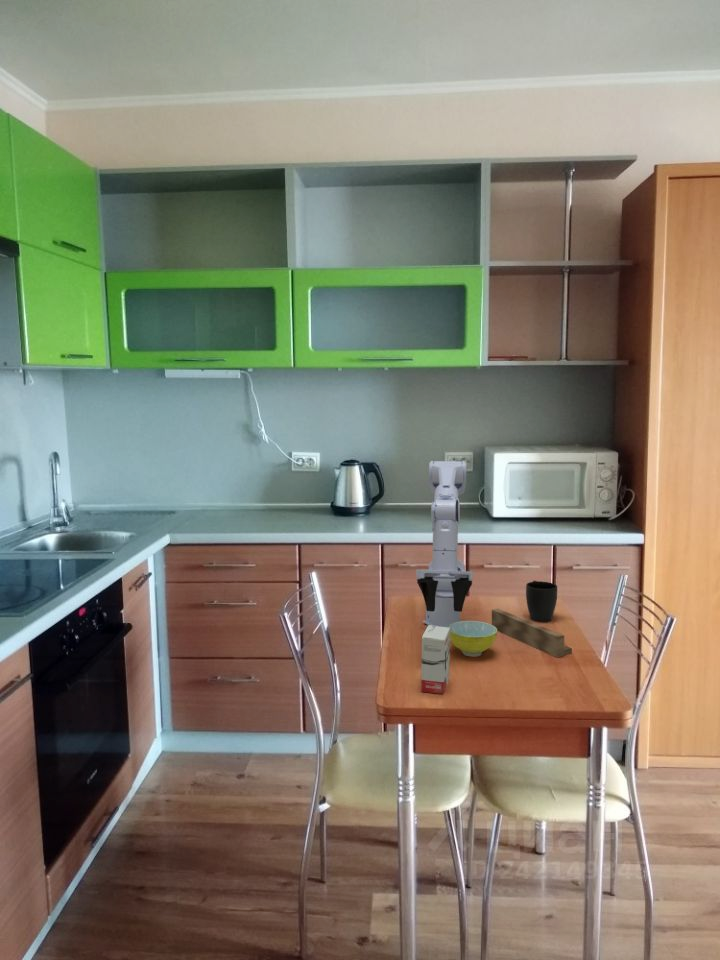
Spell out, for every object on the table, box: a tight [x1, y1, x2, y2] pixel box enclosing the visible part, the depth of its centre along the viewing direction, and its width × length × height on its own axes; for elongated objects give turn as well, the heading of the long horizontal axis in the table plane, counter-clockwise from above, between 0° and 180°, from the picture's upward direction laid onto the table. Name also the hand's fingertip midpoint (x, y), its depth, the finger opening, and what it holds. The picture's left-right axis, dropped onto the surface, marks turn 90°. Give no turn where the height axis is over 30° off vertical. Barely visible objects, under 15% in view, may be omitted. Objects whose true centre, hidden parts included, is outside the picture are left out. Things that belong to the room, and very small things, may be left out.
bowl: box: [448, 620, 498, 658], centre depth 165 cm, size 11×12×6 cm
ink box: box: [420, 625, 451, 695], centre depth 146 cm, size 8×5×12 cm, turn 165°
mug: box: [525, 580, 558, 623], centre depth 191 cm, size 8×12×10 cm
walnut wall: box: [491, 608, 573, 659], centre depth 173 cm, size 24×5×5 cm, turn 28°
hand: (444, 611), depth 158 cm, fingers open, 7 cm apart
